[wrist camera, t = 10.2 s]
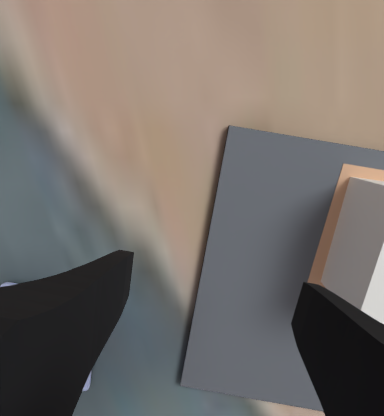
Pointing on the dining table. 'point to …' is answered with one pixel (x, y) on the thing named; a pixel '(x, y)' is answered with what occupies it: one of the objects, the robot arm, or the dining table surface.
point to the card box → (359, 249)
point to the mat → (267, 261)
